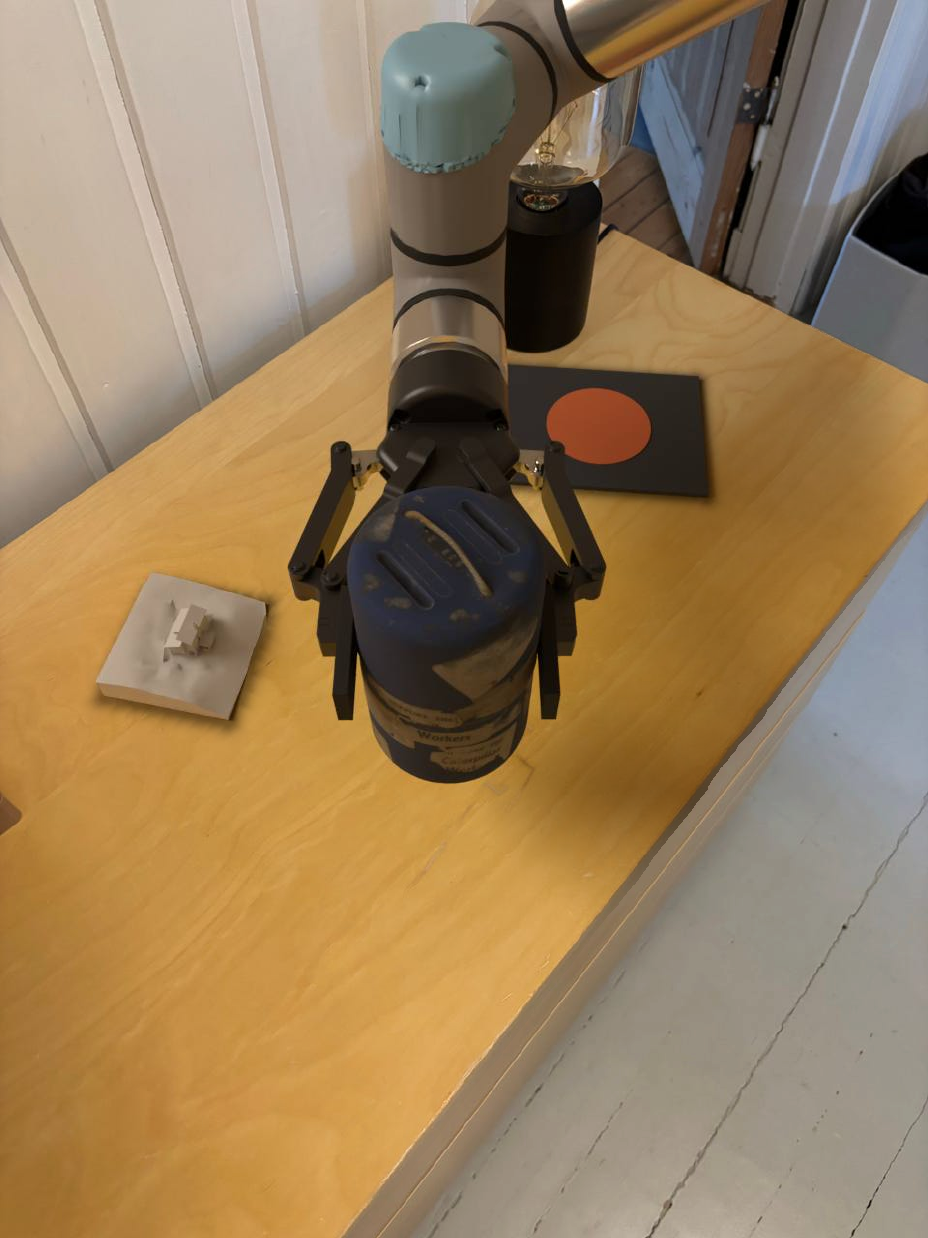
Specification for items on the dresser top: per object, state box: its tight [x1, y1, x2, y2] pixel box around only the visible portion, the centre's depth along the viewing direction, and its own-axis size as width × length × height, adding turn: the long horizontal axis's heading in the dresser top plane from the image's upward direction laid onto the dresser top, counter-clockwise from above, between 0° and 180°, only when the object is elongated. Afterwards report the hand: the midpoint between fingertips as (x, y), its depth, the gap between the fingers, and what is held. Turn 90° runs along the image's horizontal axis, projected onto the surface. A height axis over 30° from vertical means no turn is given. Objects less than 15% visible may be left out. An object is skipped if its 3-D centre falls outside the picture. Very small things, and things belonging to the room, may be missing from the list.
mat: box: [507, 363, 709, 498], centre depth 81 cm, size 18×14×1 cm
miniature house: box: [94, 571, 267, 721], centre depth 67 cm, size 12×11×4 cm
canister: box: [347, 486, 547, 785], centre depth 50 cm, size 10×10×18 cm
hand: (446, 707), depth 47 cm, fingers closed on canister, 10 cm apart
